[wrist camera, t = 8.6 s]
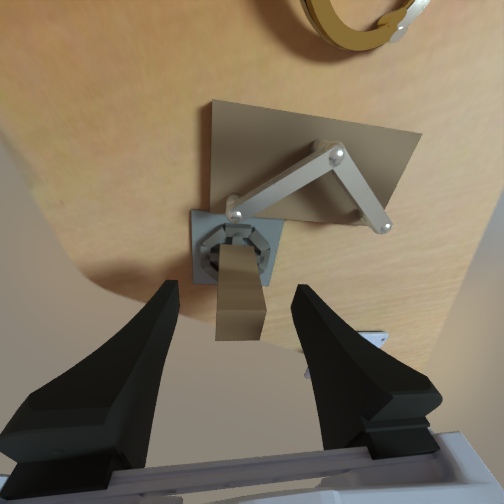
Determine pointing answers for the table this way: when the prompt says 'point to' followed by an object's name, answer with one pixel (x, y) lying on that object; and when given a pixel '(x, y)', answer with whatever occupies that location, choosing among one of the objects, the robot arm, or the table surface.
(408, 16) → the ring
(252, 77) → the table surface
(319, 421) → the robot arm
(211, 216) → the mat
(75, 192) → the table surface
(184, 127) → the table surface
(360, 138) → the base
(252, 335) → the ring wand
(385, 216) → the bent wire
